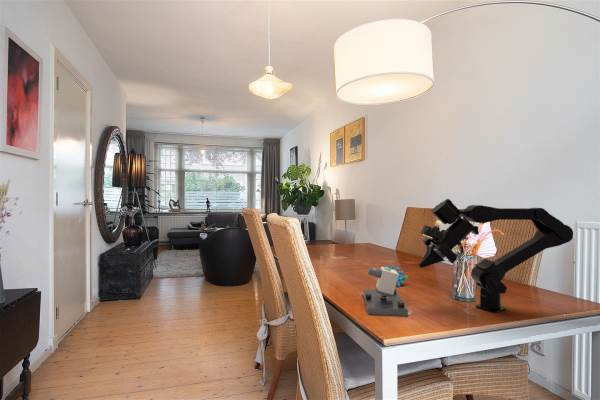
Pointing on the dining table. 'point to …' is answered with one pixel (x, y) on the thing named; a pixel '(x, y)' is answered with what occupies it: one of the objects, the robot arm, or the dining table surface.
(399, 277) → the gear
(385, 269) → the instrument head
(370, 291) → the base
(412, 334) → the dining table surface
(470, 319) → the dining table surface
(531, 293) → the dining table surface
